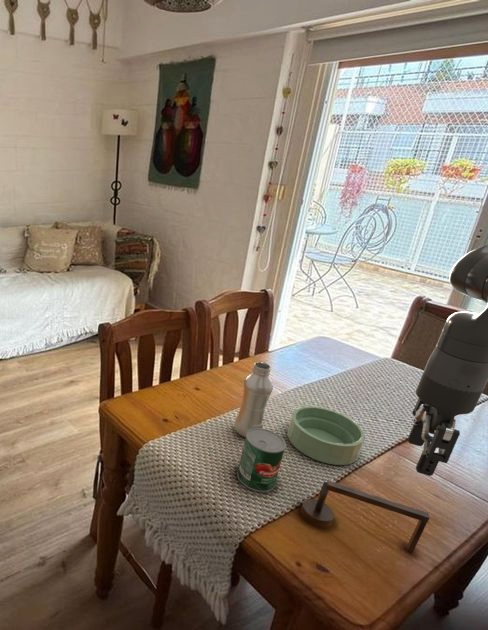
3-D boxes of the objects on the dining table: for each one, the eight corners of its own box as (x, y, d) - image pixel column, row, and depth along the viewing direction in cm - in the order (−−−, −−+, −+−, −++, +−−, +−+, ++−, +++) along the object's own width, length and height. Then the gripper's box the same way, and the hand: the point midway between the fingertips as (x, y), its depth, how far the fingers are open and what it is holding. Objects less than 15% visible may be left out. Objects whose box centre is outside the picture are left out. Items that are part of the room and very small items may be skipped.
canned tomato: (247, 461, 103) (256, 423, 98) (280, 480, 98) (292, 440, 93) (230, 478, 98) (239, 438, 93) (265, 498, 92) (276, 457, 88)
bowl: (355, 437, 112) (362, 417, 110) (359, 475, 100) (367, 454, 97) (288, 418, 119) (293, 399, 117) (285, 452, 106) (290, 432, 104)
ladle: (299, 521, 87) (311, 486, 84) (300, 501, 92) (311, 468, 88) (414, 563, 79) (432, 526, 76) (409, 540, 84) (425, 504, 80)
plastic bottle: (239, 422, 117) (254, 356, 109) (265, 434, 112) (282, 366, 104) (228, 432, 112) (242, 364, 105) (254, 445, 108) (271, 375, 100)
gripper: (499, 406, 62) (455, 493, 69) (471, 364, 74) (436, 441, 80) (433, 391, 66) (398, 475, 72) (417, 353, 77) (388, 428, 84)
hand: (418, 457), depth 76 cm, fingers open, 8 cm apart
